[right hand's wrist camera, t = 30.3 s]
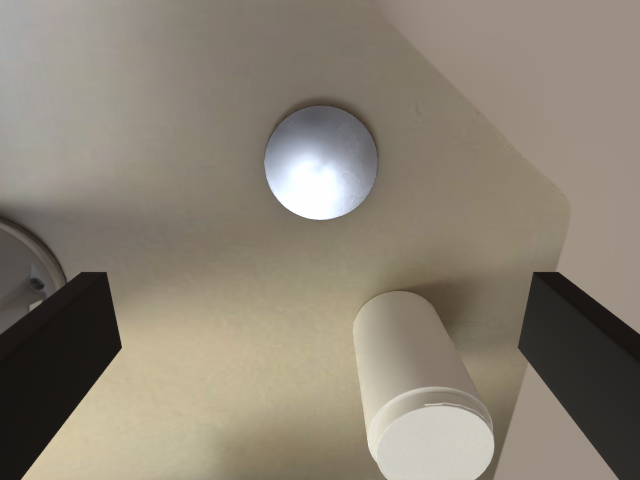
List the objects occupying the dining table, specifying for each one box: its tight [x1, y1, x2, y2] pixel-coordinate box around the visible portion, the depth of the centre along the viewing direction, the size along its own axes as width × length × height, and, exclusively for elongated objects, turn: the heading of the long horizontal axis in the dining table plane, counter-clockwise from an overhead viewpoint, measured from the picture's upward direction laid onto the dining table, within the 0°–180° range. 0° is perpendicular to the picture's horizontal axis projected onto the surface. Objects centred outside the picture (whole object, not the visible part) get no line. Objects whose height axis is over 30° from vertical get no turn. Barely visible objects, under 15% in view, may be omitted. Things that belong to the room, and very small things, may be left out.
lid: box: [264, 104, 378, 220], centre depth 37 cm, size 10×10×2 cm
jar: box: [353, 291, 494, 480], centre depth 37 cm, size 10×10×16 cm
